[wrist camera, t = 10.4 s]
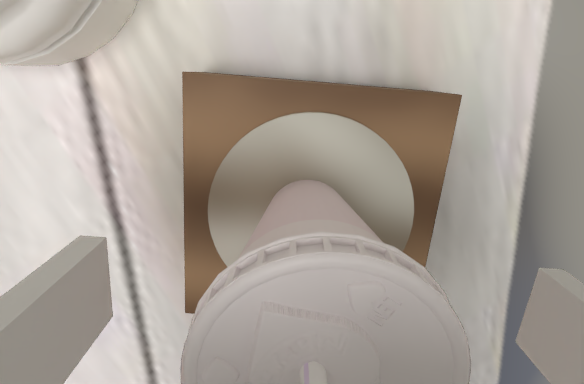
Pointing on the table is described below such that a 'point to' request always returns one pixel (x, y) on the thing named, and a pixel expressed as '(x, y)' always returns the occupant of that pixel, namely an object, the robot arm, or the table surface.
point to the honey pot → (58, 29)
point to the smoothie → (323, 306)
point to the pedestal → (307, 160)
